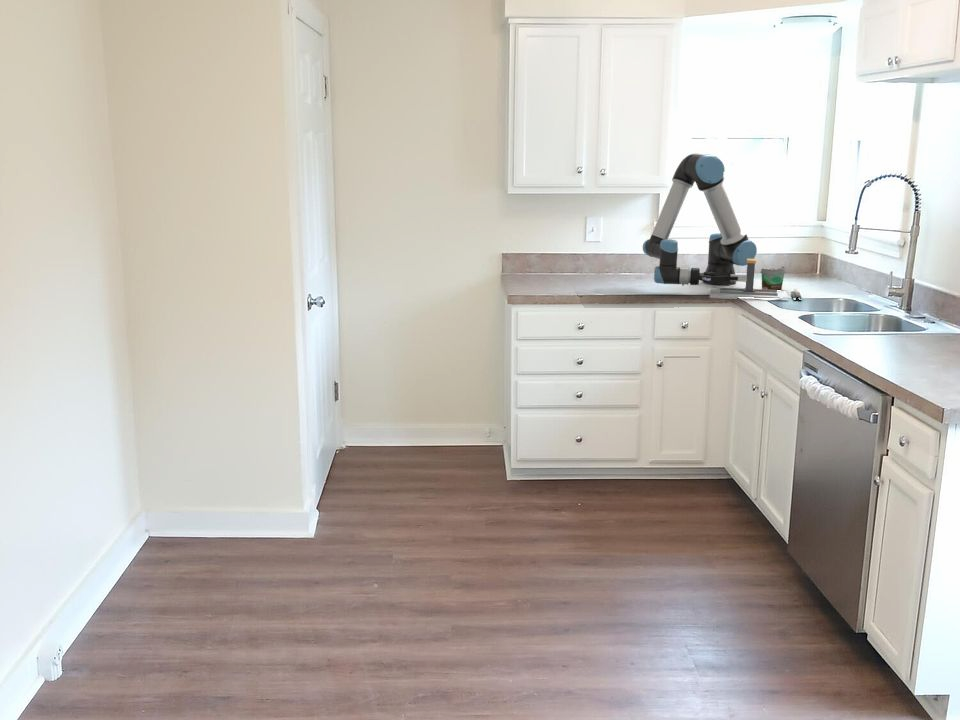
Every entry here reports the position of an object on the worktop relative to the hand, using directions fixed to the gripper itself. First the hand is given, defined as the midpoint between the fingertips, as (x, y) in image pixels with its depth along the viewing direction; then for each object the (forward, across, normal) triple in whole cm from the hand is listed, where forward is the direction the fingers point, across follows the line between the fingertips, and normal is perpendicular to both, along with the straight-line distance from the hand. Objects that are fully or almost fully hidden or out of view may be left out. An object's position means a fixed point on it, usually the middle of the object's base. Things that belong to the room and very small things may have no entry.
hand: (745, 278), depth 380 cm
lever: (+2, 0, -6) cm, 6 cm away
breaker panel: (+1, 0, -8) cm, 8 cm away
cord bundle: (+21, -2, -8) cm, 23 cm away
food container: (+13, -16, -8) cm, 22 cm away
